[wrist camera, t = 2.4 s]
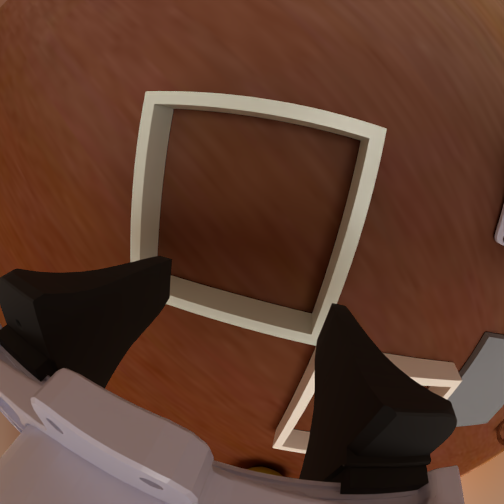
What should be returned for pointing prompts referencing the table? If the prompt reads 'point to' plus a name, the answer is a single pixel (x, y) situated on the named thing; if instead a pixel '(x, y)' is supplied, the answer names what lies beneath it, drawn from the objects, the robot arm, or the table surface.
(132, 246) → the bin
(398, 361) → the bin
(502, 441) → the glasses
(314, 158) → the table surface
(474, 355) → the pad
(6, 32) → the table surface
